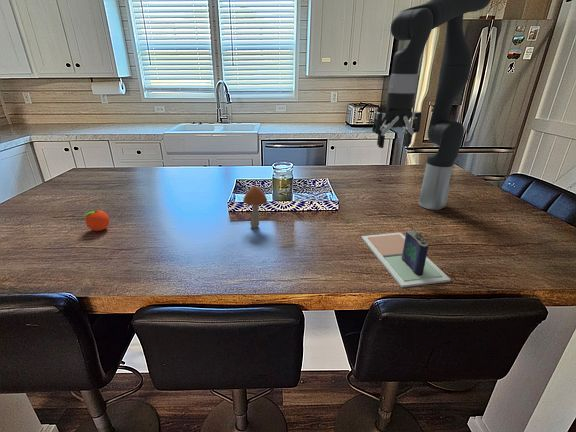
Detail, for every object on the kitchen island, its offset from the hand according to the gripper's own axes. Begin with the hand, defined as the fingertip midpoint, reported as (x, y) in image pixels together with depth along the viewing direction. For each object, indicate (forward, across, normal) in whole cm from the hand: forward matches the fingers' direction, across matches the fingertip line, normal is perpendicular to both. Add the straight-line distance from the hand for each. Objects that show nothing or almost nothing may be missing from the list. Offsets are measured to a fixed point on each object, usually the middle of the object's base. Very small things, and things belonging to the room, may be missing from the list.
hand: (393, 146), depth 98 cm
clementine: (+28, +96, -15) cm, 101 cm away
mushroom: (+28, +43, -8) cm, 52 cm away
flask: (+27, +3, +25) cm, 37 cm away
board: (+28, +3, +19) cm, 34 cm away
